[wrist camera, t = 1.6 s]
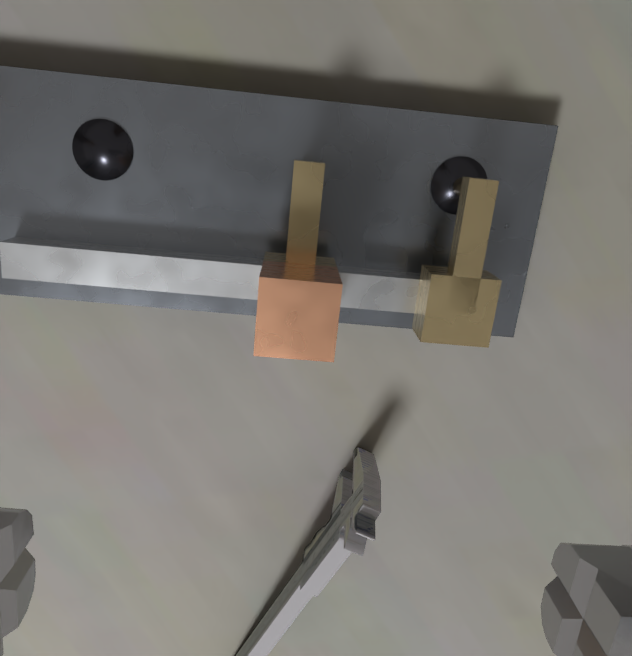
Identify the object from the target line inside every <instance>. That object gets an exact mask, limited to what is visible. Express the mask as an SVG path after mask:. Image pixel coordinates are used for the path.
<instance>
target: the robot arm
mask: <svg viewBox="0 0 632 656" xmlns="http://www.w3.org/2000/svg"><path fill="white" fill-rule="evenodd" d="M33 534H34V531H33V521H32V515H31V514H30V513H29V511H28V510H25V509H13V508H1V507H0V656H2V655H3V637H4V636H6V635H7V634H9V633H10V632H12V631H13V630H15V629H16V628H18V627H19V625H20V623H21V621H22V619H23V617H24V615H25V614H26V612H27V609H28V606H29V603H30V600H31V597H32V593H33V590H34V582H35V574H36V572H35V559H34V558H33V556H32V555H31V554H30V553H29V552H28V550H27V549H26V548H25V547H26V545H27V544H28V542H29V541H30V539H31V538H32V536H33ZM551 565H552V567H553V569H554V571H555V573H556V574H557V577H556V578H555V579H554V580H553V581H551V582H550V583H549V584H548V585H547V586H546V587H545V589H544V593H543V598H542V603H541V616H542V626H543V629H544V633H545V636H546V639H547V641H548V643H549V645H550V647H551V649H552V651H553V653H554V654H556V655H557V656H632V545H622V546H612V545H593V544H574V543H560V544H559V546H558V547H557V549H556V550H555V552H554V556H553V559H552V563H551Z"/></svg>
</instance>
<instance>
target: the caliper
mask: <svg viewBox="0 0 632 656" xmlns="http://www.w3.org/2000/svg"><path fill="white" fill-rule="evenodd" d="M380 513H381V480H380V476H379V472H378V468H377V464H376V460H375V457H374V454H372V453H370V452H368V451H365V450H363V449H361V448H359V447H358V448H356V449H355V450H354V455H353V473H351V472H348V471H346V470H344V469H343V470H342V471H341V473H340V475H339V477H338V482H337V487H336V492H335V497H334V503H333V508H332V513H331V518H330V520H329V522H328V523H327V524H326V526H323V527H322V528H321V529H320V530H319V531H318V532H317V533H316V534H315V536H314V538H313V540H312V541H311V543H310V544H309V545H308V546H307V547H306V548H305V550H304V554H303V562H302V564H301V565H300V567H299V568H298V569H297V571H296V572H295V574H294V575H293V576H292V578H291V579H290V580H289V582H288V583H287V585H286V586H285V587H284V589H283V590H282V592H281V593H280V594H279V596H278V597H277V599H276V600H275V601H274V603H273V604H272V606H271V607H270V608H269V610H268V611H267V613H266V614H265V615H264V617H263V618H262V620H261V621H260V622H259V624H258V625H257V626H256V628H255V629H254V631H253V632H252V633H251V635H250V636H249V637H248V639H247V640H246V642H245V643H244V644H243V646H242V647H241V649H240V650H239V651H238V653H237V654H236V655H235V656H267V655H268V654H269V653H270V652H271V650H272V649H273V648H274V646H275V645H276V644H277V642H278V641H279V640H280V638H281V637H282V636H283V634H284V633H285V632H286V630H287V629H288V628H289V627H290V625H291V624H292V623H293V621H294V620H295V619H296V617H297V616H298V615H299V613H300V612H301V611H302V609H303V608H304V607H305V605H306V604H307V603H308V602H309V600H310V599H311V598H312V596H316V597H317V596H318V595H319V594H320V592H321V591H322V590H323V588H324V587H325V586H326V585H327V583H328V582H329V581H330V579H331V578H332V577H333V576H334V574H335V573H336V572H337V571H338V569H339V568H340V567H341V565H342V564H343V563H344V562H345V560H346V559H347V558H348V557H349V555H350V554H351V553H352V552H353V553H355V554H358V555H360V556H363V553H364V549H365V545H366V540H367V538H368V539H371V540H373V541H374V540H375V520H376V519H377V517H378V516H379V515H380Z"/></svg>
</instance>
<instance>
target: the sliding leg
mask: <svg viewBox="0 0 632 656" xmlns="http://www.w3.org/2000/svg"><path fill="white" fill-rule="evenodd" d="M324 171H325V163H323V162H313V161H303V160H294V168H293V180H292V192H291V204H290V216H289V228H288V240H287V252H286V253H276V252H266V253H265V256H264V260H263V264H262V268H261V272H260V276H259V286H258V300H257V315H256V329H255V343H254V356H263V357H275V358H288V359H300V360H313V361H325V362H334V356H335V348H336V339H337V330H338V322H339V313H340V304H341V296H342V287H343V284H342V281H341V278H340V275H339V272H338V269H337V266H336V263H335V260H334V258H331V257H320V256H316V251H317V241H318V231H319V221H320V211H321V201H322V191H323V181H324Z"/></svg>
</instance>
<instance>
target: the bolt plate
mask: <svg viewBox="0 0 632 656" xmlns="http://www.w3.org/2000/svg"><path fill="white" fill-rule="evenodd" d="M557 129H558V126H554V125H545V124H536V123H526V122H517V121H508V120H499V119H489V118H480V117H471V116H462V115H452V114H443V113H434V112H425V111H415V110H406V109H397V108H388V107H378V106H369V105H360V104H351V103H341V102H332V101H323V100H314V99H305V98H295V97H286V96H277V95H268V94H258V93H249V92H240V91H231V90H221V89H212V88H203V87H194V86H184V85H175V84H166V83H157V82H147V81H138V80H129V79H120V78H110V77H101V76H92V75H83V74H73V73H64V72H55V71H46V70H37V69H27V68H18V67H9V66H0V294H5V295H17V296H29V297H41V298H53V299H65V300H76V301H88V302H100V303H112V304H124V305H136V306H148V307H159V308H171V309H183V310H195V311H207V312H219V313H231V314H243V315H254V316H256V315H257V300H258V286H259V276H260V272H261V268H262V264H263V260H264V256H265V253H266V252H276V253H286V252H287V240H288V228H289V216H290V204H291V192H292V180H293V168H294V160H303V161H313V162H323V163H325V171H324V181H323V191H322V201H321V211H320V221H319V231H318V241H317V251H316V256H320V257H331V258H334V260H335V263H336V266H337V269H338V272H339V275H340V278H341V281H342V284H343V287H342V296H341V304H340V313H339V322H338V323H349V324H361V325H373V326H385V327H397V328H409V329H413V330H414V332H415V334H416V335H417V337H418V338H419V340H420V342H427V343H439V344H452V345H464V346H476V347H489V342H490V337H491V335H492V336H504V337H514V332H515V327H516V323H517V318H518V313H519V308H520V304H521V299H522V294H523V290H524V285H525V280H526V275H527V271H528V266H529V261H530V257H531V252H532V247H533V242H534V238H535V233H536V228H537V223H538V219H539V214H540V209H541V205H542V200H543V195H544V190H545V186H546V181H547V176H548V172H549V167H550V162H551V157H552V153H553V148H554V143H555V139H556V134H557Z"/></svg>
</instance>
